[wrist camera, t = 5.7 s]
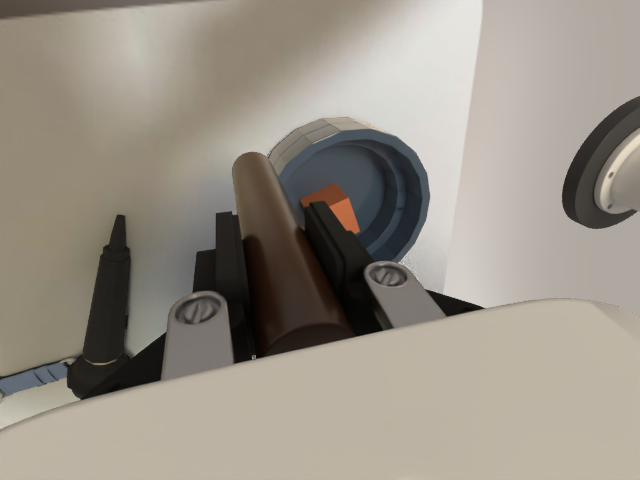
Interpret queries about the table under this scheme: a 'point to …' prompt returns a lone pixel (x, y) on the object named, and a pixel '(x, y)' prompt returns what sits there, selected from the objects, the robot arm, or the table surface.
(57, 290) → the table surface
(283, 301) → the stick
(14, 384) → the wristwatch
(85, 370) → the microphone
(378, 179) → the bowl
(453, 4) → the table surface
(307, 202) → the block
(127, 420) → the robot arm
